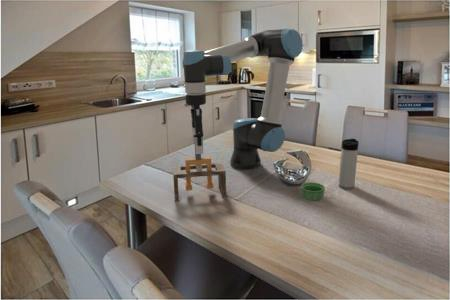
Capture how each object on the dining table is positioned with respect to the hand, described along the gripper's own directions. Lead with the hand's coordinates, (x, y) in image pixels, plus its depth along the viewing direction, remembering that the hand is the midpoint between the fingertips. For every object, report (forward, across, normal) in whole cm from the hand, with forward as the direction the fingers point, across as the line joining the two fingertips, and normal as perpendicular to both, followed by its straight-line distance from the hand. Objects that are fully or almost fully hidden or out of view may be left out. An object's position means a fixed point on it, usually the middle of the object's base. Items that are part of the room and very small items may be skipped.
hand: (197, 148), depth 136 cm
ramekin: (+20, +12, +43) cm, 49 cm away
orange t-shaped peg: (+16, 0, 0) cm, 16 cm away
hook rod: (+8, 0, 0) cm, 8 cm away
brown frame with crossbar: (+19, 0, 0) cm, 19 cm away
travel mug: (+20, +5, +61) cm, 64 cm away
